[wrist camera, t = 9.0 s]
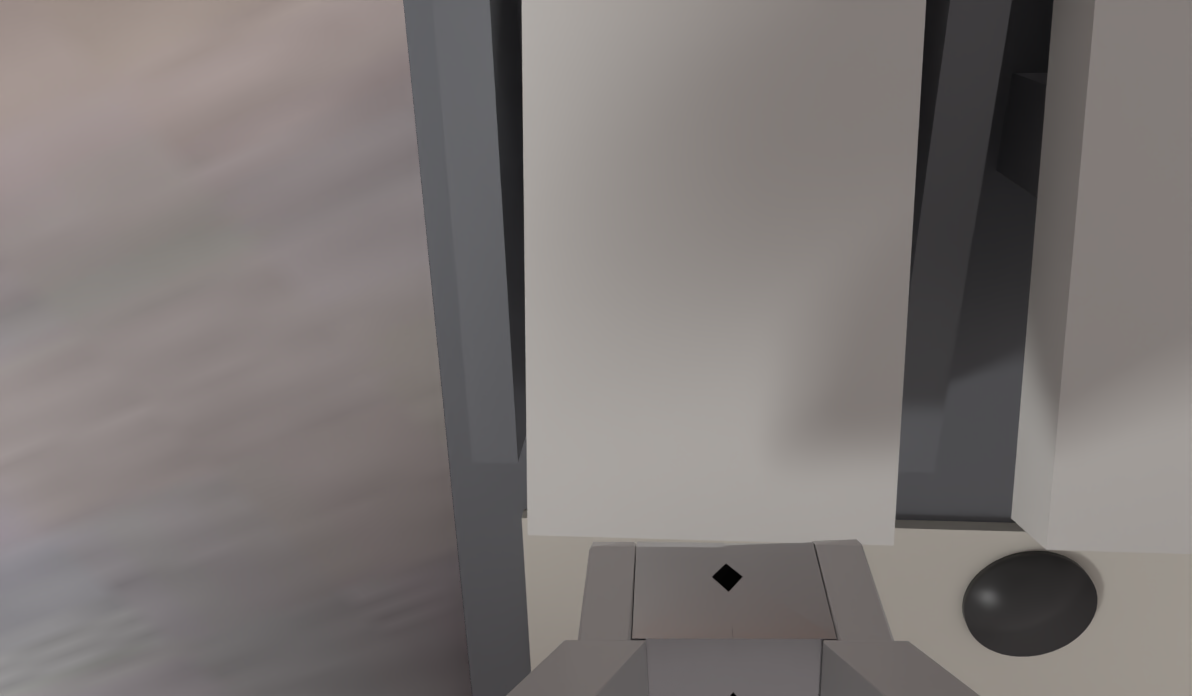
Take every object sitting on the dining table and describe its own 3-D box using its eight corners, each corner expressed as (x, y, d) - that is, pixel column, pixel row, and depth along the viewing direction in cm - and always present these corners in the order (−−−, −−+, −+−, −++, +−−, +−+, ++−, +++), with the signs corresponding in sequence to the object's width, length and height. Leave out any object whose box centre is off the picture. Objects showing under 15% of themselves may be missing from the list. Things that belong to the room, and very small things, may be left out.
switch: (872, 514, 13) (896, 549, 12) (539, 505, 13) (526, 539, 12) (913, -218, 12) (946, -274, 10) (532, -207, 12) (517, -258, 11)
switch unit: (1456, 770, 22) (1614, 935, 18) (491, 727, 23) (459, 871, 20) (2144, -509, 12) (2798, -711, 8) (388, -424, 14) (286, -560, 10)
